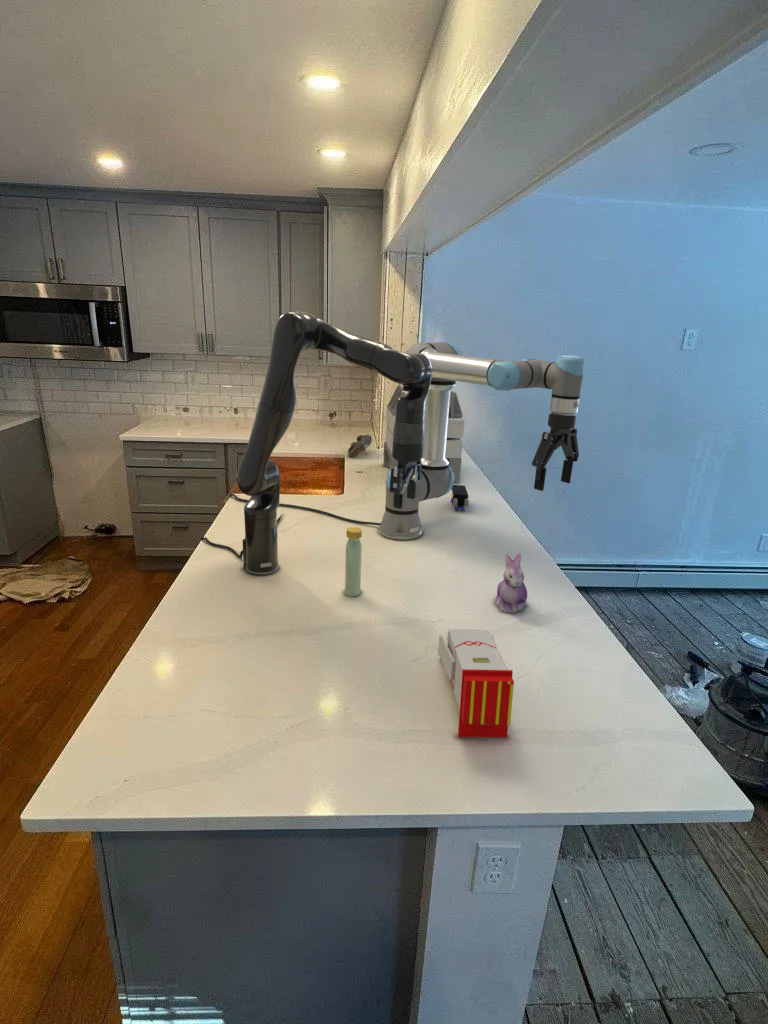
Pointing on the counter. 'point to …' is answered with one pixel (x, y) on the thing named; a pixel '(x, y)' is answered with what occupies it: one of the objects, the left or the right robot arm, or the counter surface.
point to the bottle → (353, 567)
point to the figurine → (512, 586)
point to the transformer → (453, 434)
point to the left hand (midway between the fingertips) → (404, 502)
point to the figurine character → (459, 497)
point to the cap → (354, 533)
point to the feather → (279, 518)
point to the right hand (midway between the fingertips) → (552, 485)
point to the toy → (478, 682)
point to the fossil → (359, 445)
